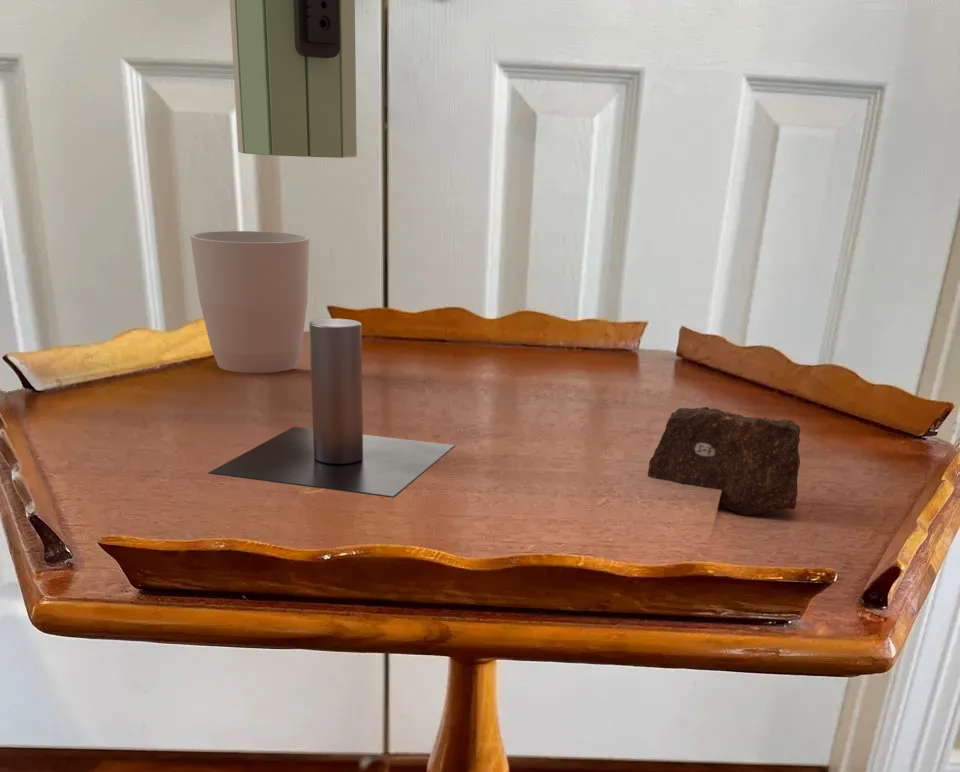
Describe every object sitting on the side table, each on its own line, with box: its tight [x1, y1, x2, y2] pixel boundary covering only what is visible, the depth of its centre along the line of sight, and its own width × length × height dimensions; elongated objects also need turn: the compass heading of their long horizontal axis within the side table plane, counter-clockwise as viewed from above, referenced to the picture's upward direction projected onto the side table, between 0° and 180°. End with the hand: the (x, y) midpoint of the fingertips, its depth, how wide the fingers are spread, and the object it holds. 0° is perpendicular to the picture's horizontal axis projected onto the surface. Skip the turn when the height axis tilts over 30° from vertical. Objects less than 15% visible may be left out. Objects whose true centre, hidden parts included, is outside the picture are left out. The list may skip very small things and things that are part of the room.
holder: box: [207, 318, 456, 498], centre depth 53 cm, size 10×10×8 cm
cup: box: [189, 230, 310, 374], centre depth 74 cm, size 8×8×10 cm
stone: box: [647, 406, 801, 516], centre depth 53 cm, size 8×3×5 cm, turn 65°
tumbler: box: [229, 0, 358, 159], centre depth 56 cm, size 6×7×9 cm
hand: (294, 58), depth 56 cm, fingers closed on tumbler, 6 cm apart
